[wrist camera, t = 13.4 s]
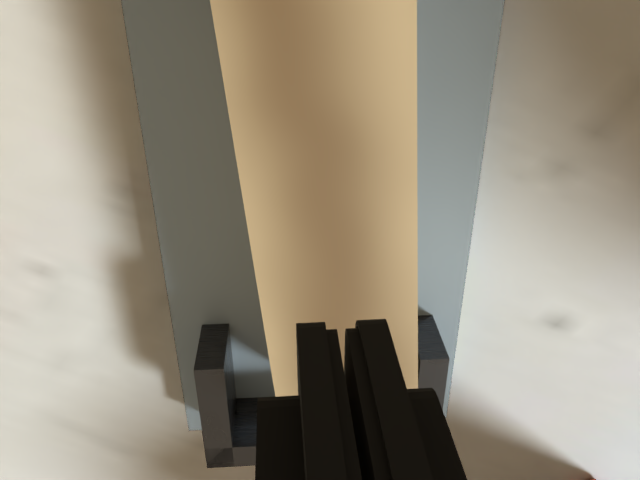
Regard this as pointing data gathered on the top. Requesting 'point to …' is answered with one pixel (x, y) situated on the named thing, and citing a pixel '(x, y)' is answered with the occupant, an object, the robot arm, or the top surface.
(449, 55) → the rail base
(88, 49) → the top surface
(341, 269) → the slat
